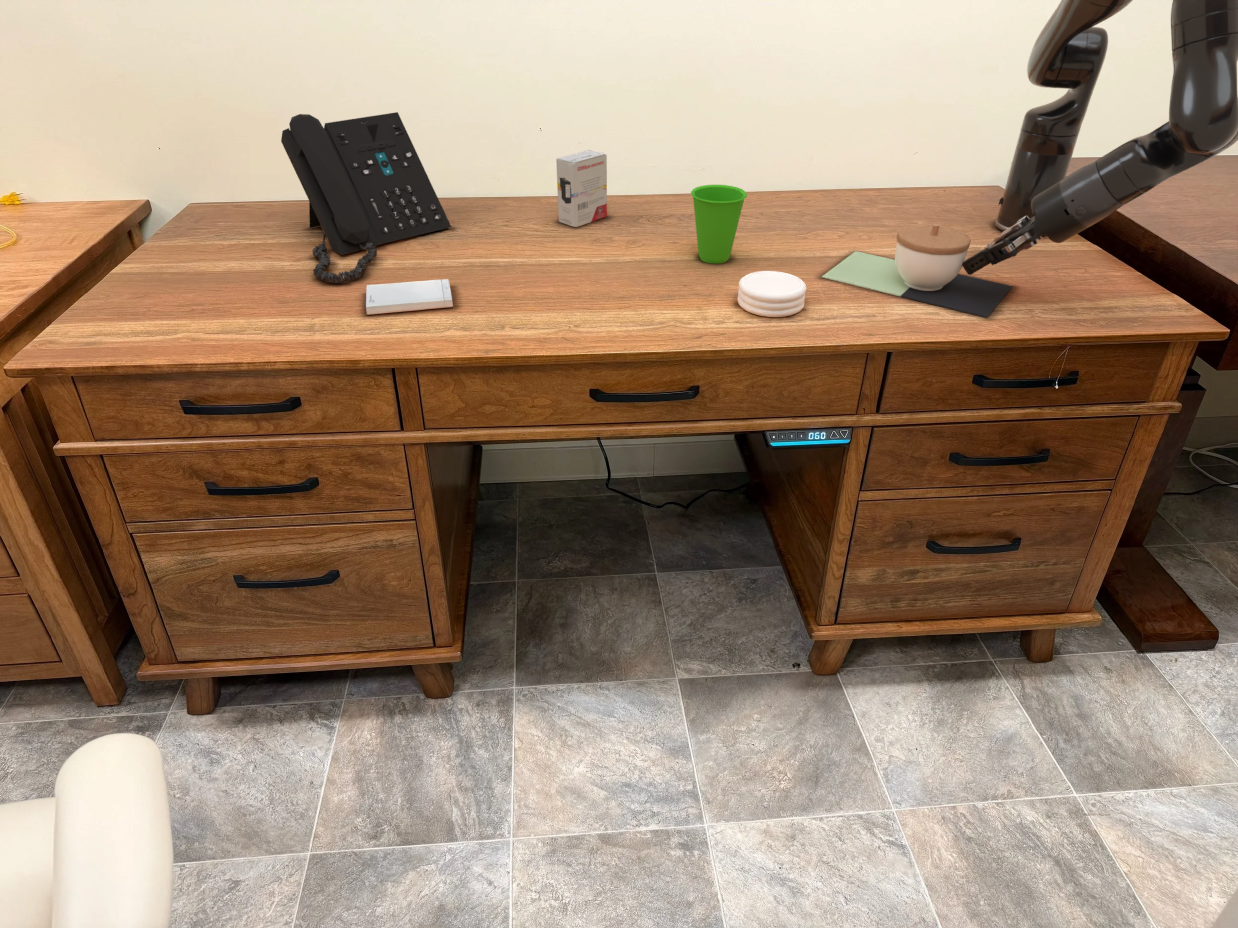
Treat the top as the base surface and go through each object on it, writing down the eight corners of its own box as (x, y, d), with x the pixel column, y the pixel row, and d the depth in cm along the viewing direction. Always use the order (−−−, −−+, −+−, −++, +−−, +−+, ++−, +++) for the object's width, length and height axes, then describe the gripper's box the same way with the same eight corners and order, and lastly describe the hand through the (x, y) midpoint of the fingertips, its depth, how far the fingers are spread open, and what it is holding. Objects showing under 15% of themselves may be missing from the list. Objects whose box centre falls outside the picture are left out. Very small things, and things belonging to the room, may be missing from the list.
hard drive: (365, 306, 121) (452, 297, 123) (366, 284, 127) (448, 276, 130) (367, 316, 122) (453, 308, 124) (367, 294, 128) (449, 286, 131)
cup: (738, 270, 137) (744, 203, 131) (683, 265, 138) (687, 199, 132) (743, 250, 144) (749, 186, 138) (690, 246, 146) (694, 183, 139)
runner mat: (1012, 287, 131) (1012, 286, 131) (987, 318, 122) (987, 316, 122) (855, 252, 144) (855, 251, 144) (821, 277, 134) (821, 276, 134)
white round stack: (731, 292, 129) (732, 270, 127) (794, 290, 130) (796, 268, 128) (744, 319, 121) (747, 297, 119) (811, 317, 122) (815, 295, 120)
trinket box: (961, 276, 134) (976, 219, 129) (955, 301, 126) (970, 241, 121) (893, 266, 138) (904, 210, 132) (883, 290, 130) (894, 231, 124)
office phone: (328, 289, 130) (300, 155, 118) (256, 241, 147) (226, 120, 136) (486, 245, 146) (475, 124, 134) (404, 206, 163) (388, 96, 152)
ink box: (590, 211, 161) (589, 148, 154) (608, 217, 158) (608, 153, 152) (557, 222, 156) (555, 157, 149) (575, 228, 153) (573, 162, 146)
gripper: (1072, 168, 119) (965, 236, 132) (1052, 191, 110) (938, 261, 123) (1101, 212, 119) (991, 275, 132) (1083, 238, 110) (967, 303, 123)
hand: (966, 268), depth 127 cm, fingers closed
